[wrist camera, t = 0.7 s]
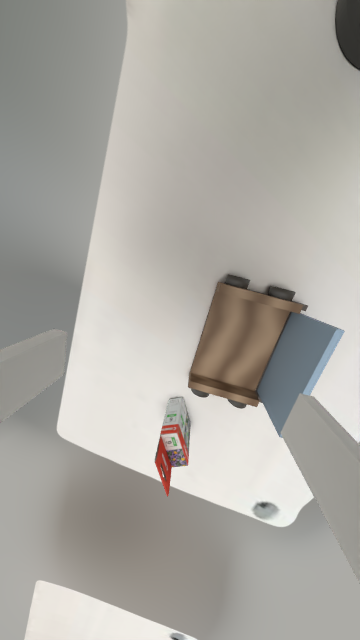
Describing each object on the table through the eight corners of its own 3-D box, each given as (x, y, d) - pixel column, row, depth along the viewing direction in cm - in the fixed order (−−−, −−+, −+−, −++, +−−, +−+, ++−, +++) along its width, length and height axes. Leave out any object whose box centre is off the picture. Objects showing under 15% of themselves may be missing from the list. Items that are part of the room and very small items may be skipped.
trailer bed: (187, 381, 41) (185, 394, 36) (221, 272, 34) (224, 272, 30) (256, 401, 40) (263, 416, 36) (304, 295, 34) (320, 298, 29)
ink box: (183, 396, 42) (175, 458, 28) (191, 424, 44) (188, 496, 30) (168, 398, 42) (152, 461, 28) (176, 426, 44) (166, 498, 30)
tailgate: (255, 388, 39) (278, 436, 28) (289, 309, 34) (336, 328, 23) (261, 390, 39) (287, 439, 28) (296, 311, 34) (346, 331, 23)
